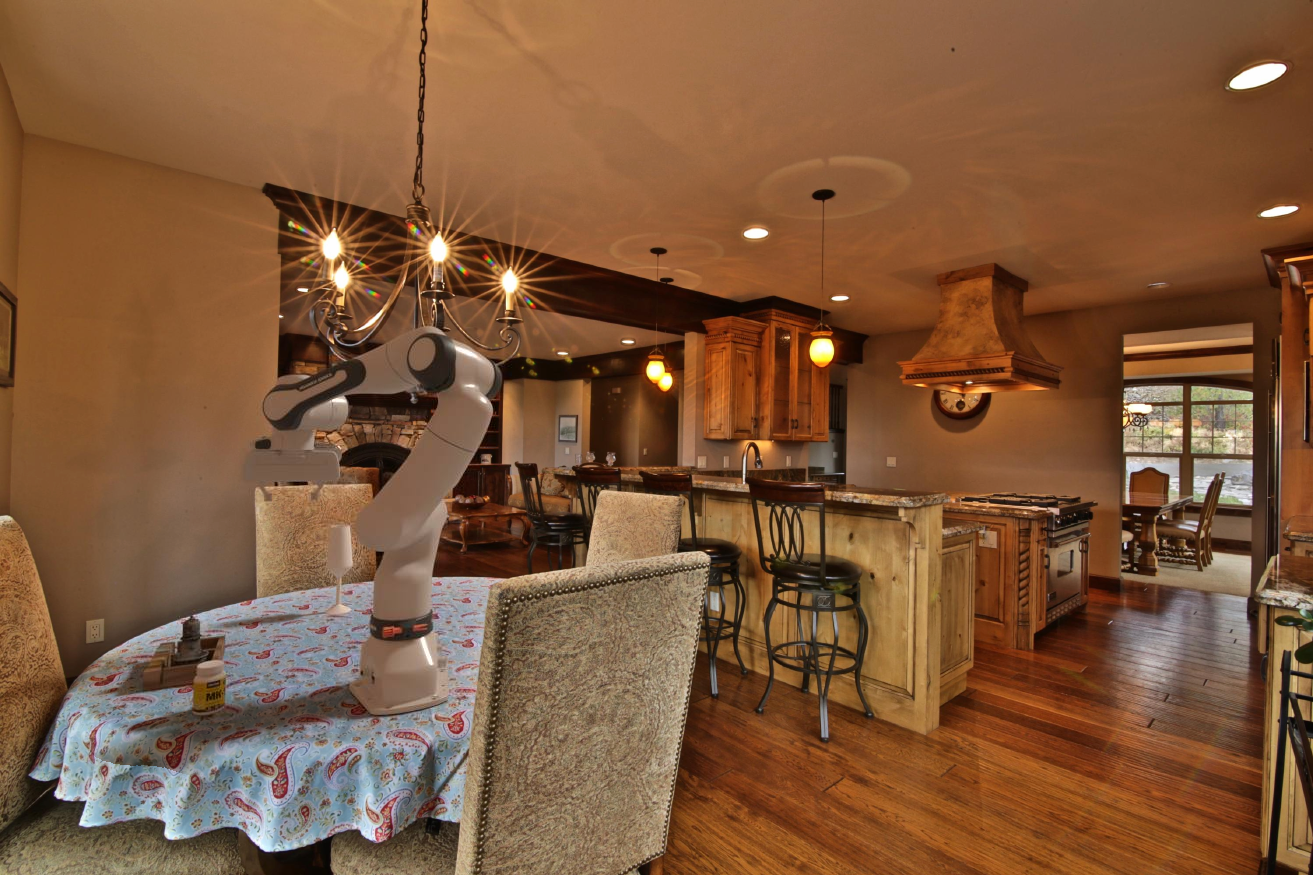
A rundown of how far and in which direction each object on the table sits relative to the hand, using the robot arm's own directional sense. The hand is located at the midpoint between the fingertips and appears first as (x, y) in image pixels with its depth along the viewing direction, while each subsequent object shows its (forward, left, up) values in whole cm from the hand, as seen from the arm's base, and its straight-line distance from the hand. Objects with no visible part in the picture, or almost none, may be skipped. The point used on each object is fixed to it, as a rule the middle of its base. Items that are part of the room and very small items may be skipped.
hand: (291, 500), depth 143 cm
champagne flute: (+23, -12, -34) cm, 43 cm away
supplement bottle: (-33, +12, -34) cm, 49 cm away
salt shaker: (-13, +17, -34) cm, 40 cm away
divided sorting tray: (-9, +18, -34) cm, 40 cm away
